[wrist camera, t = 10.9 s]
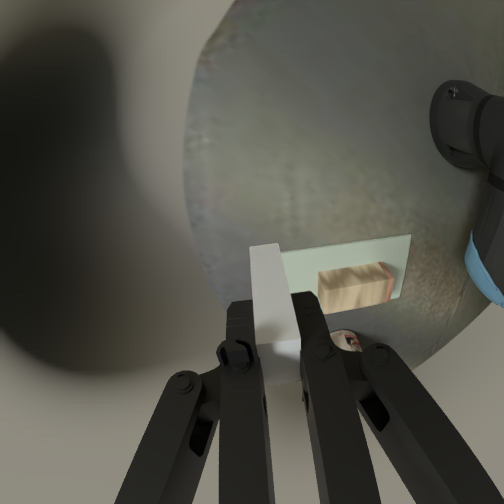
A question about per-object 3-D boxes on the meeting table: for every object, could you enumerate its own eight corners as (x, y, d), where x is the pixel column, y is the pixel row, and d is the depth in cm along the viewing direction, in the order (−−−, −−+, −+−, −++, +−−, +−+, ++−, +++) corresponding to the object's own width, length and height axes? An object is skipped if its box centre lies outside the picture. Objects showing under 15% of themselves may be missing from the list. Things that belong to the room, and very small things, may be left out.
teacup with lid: (363, 341, 56) (379, 382, 45) (329, 360, 58) (340, 402, 48) (339, 314, 51) (357, 360, 41) (301, 337, 53) (311, 384, 43)
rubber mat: (410, 233, 42) (411, 234, 42) (398, 296, 49) (399, 297, 49) (262, 254, 43) (263, 255, 43) (271, 318, 50) (271, 320, 50)
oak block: (317, 271, 45) (382, 261, 44) (317, 295, 47) (379, 284, 47) (325, 290, 40) (394, 278, 40) (324, 314, 43) (389, 301, 43)
